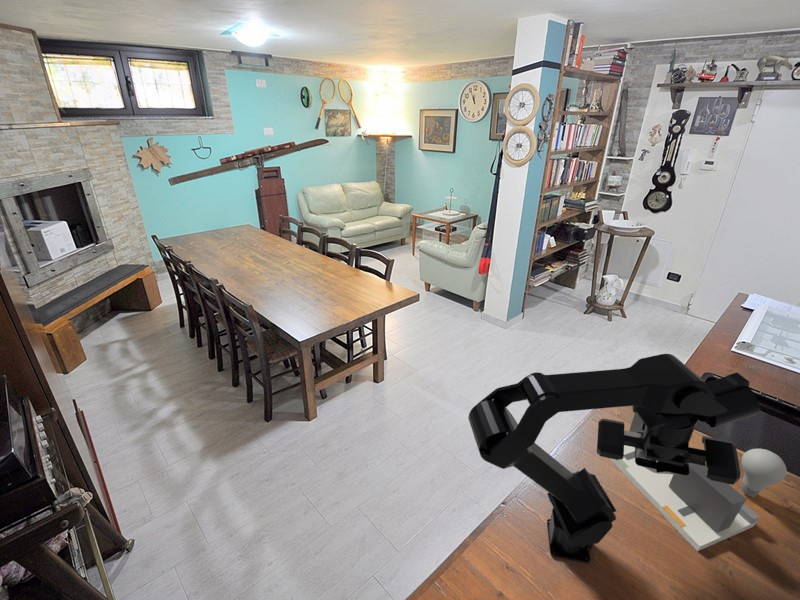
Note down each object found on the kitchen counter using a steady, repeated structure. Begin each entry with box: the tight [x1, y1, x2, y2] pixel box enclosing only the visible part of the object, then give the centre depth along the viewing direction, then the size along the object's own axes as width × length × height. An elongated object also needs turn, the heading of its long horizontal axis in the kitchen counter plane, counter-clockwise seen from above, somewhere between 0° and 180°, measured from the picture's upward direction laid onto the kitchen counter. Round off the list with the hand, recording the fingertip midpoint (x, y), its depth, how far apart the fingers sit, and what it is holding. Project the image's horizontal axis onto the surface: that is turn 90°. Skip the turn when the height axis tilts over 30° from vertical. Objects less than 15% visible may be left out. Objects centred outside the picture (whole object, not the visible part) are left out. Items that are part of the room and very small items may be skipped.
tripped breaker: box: [669, 464, 747, 533], centre depth 70 cm, size 3×10×8 cm, turn 17°
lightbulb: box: [740, 448, 787, 498], centre depth 73 cm, size 6×6×11 cm
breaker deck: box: [608, 445, 760, 552], centre depth 78 cm, size 13×24×3 cm, turn 17°
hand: (655, 470), depth 68 cm, fingers closed
